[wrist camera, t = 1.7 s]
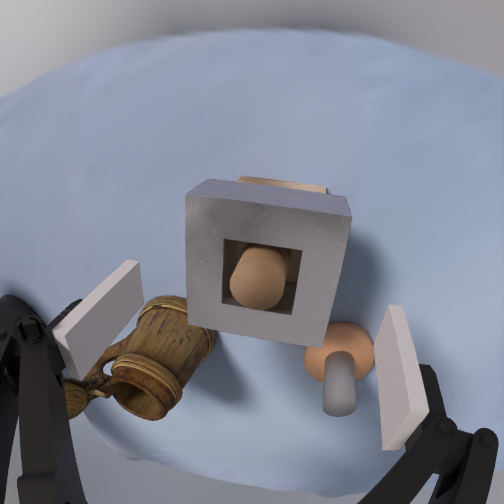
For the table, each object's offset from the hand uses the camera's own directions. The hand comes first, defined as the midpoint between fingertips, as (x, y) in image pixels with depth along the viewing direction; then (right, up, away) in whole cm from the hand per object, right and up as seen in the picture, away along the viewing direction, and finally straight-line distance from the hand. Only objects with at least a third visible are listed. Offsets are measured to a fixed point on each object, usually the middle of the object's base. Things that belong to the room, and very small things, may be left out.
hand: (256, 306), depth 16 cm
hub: (+9, -7, +16) cm, 20 cm away
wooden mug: (-11, -5, +19) cm, 23 cm away
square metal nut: (+1, +3, +6) cm, 7 cm away
